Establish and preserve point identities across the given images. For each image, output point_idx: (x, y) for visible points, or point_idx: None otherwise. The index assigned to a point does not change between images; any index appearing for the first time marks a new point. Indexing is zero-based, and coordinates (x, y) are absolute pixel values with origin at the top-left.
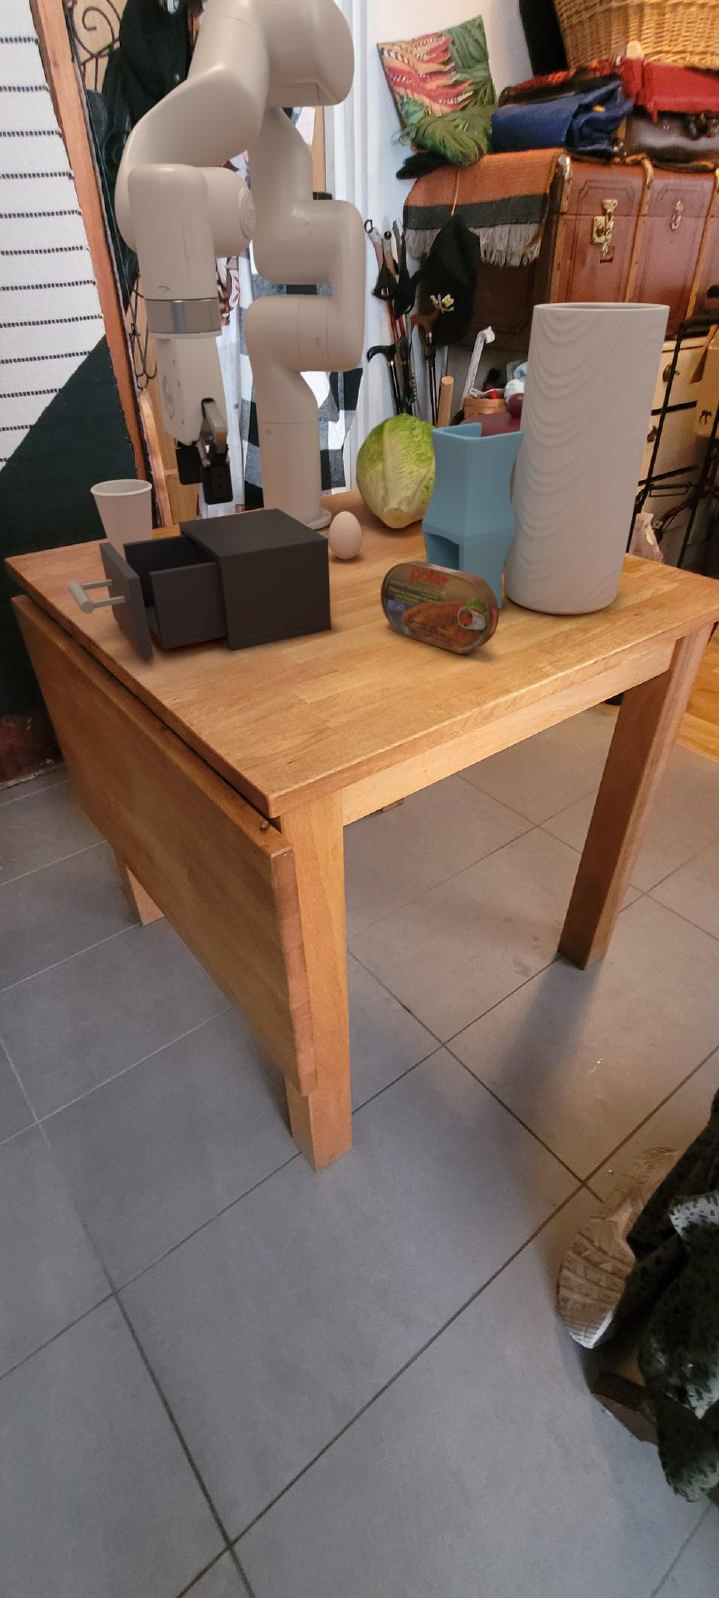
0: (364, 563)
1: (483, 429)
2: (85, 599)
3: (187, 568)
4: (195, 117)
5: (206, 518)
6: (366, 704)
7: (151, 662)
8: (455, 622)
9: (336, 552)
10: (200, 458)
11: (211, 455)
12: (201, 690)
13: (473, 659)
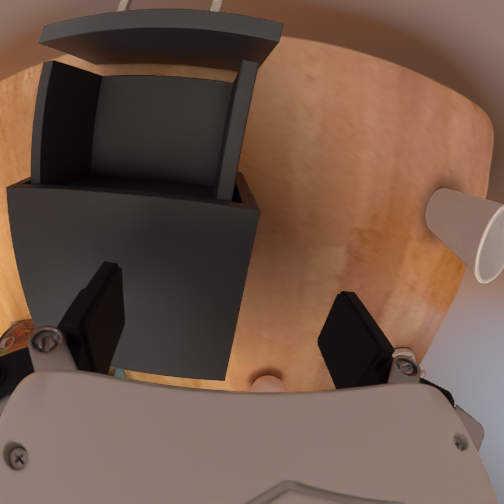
0: (241, 383)
1: None
2: None
3: (33, 127)
4: None
5: (244, 272)
6: None
7: (108, 64)
8: (16, 338)
9: (263, 378)
10: (336, 377)
11: (11, 360)
12: (28, 101)
13: (15, 322)
